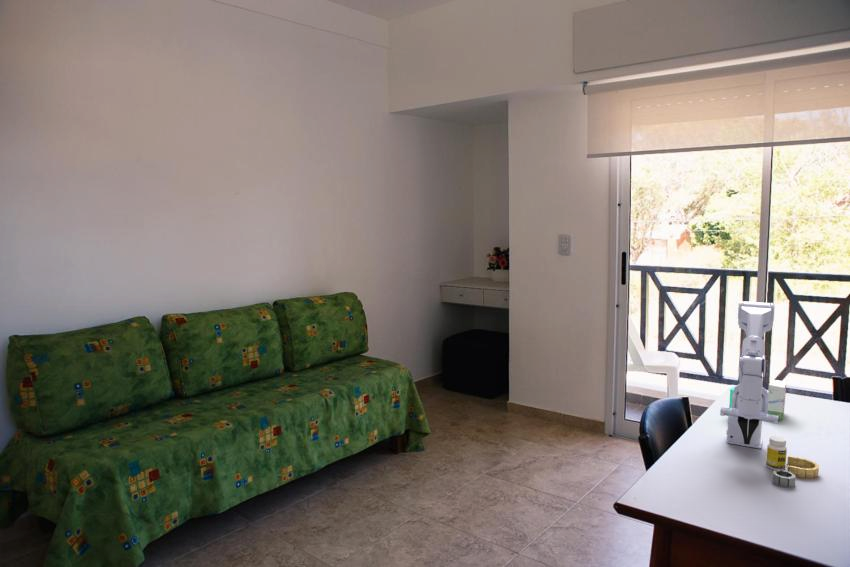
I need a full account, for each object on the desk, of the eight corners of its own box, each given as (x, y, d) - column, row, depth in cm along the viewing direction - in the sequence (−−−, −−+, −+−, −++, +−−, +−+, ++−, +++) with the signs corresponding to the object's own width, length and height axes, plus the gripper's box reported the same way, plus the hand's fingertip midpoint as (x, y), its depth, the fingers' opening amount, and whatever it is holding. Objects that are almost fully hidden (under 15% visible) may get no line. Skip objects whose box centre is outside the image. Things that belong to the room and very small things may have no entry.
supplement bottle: (778, 472, 168) (780, 443, 167) (762, 465, 172) (764, 437, 171) (789, 468, 170) (791, 440, 169) (772, 462, 174) (774, 434, 173)
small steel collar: (772, 484, 160) (772, 475, 160) (772, 477, 165) (773, 468, 164) (794, 489, 158) (795, 480, 157) (794, 481, 162) (795, 472, 162)
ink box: (782, 420, 207) (785, 387, 206) (766, 417, 210) (768, 384, 208) (784, 413, 214) (786, 380, 213) (768, 410, 217) (770, 378, 215)
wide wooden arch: (787, 475, 166) (787, 466, 166) (787, 464, 173) (787, 455, 172) (818, 481, 162) (819, 472, 162) (817, 469, 169) (818, 461, 169)
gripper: (720, 397, 172) (717, 442, 174) (779, 405, 165) (775, 453, 167) (722, 390, 178) (720, 434, 180) (779, 398, 171) (776, 444, 173)
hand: (746, 443), depth 174 cm, fingers closed
